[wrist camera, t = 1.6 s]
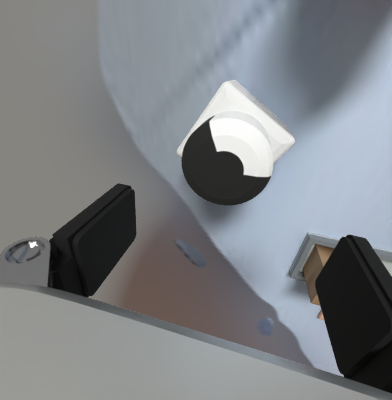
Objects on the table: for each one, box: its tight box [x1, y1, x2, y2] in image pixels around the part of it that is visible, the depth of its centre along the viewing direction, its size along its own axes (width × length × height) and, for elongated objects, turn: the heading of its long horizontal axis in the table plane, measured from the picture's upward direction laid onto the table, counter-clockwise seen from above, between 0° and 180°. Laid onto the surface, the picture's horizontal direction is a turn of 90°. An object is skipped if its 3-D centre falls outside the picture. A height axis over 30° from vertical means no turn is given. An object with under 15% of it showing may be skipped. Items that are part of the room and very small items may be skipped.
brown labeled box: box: [303, 244, 335, 305], centre depth 29 cm, size 5×5×6 cm
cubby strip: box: [290, 233, 392, 281], centre depth 31 cm, size 15×8×1 cm, turn 84°
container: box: [177, 80, 295, 205], centre depth 20 cm, size 8×8×13 cm
